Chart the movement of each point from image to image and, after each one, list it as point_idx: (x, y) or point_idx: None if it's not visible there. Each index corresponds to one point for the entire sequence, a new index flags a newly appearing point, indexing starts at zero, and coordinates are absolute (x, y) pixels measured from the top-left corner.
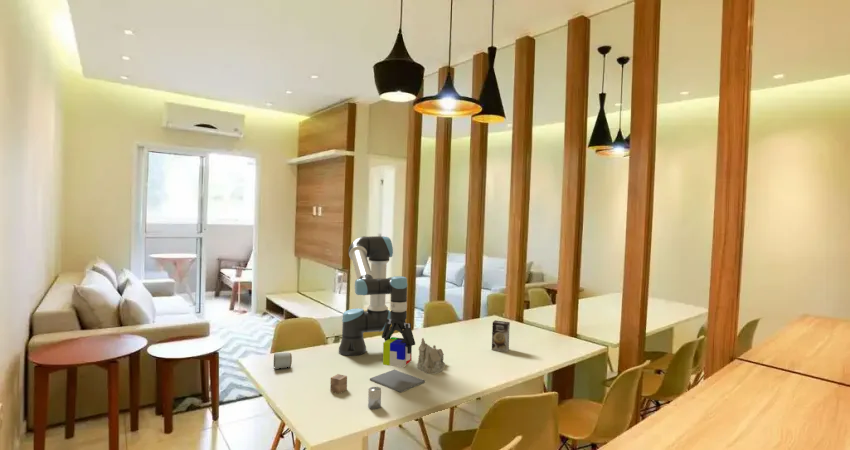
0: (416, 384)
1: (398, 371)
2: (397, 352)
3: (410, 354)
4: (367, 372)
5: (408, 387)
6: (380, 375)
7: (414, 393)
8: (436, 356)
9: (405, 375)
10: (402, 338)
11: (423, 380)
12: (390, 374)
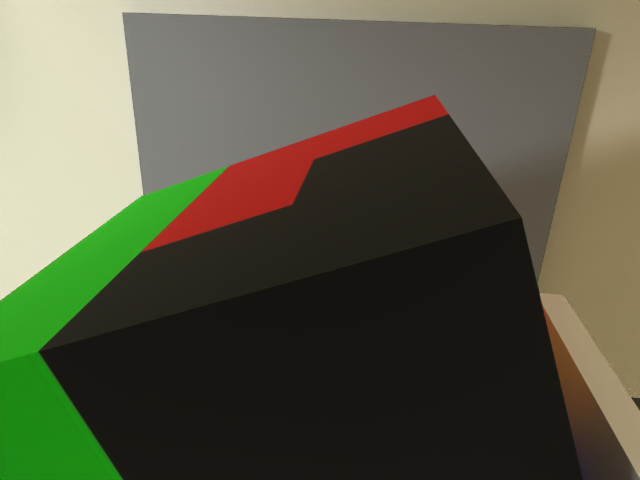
0: (561, 165)
1: (199, 28)
2: None
3: (594, 342)
4: (11, 212)
5: (539, 270)
6: None
7: (629, 297)
8: None
9: (335, 67)
10: (182, 339)
11: (584, 44)
12: (207, 150)
